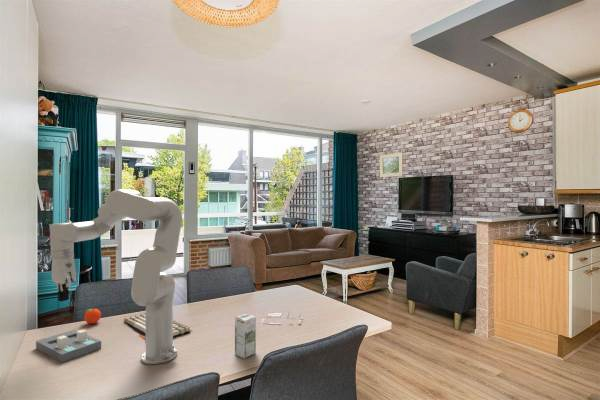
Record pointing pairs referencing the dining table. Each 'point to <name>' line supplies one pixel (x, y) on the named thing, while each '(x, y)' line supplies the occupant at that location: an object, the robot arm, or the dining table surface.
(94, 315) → the clementine
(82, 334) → the tab
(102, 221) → the robot arm
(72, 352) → the switch panel
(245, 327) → the syrup box
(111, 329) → the dining table surface
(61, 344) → the tab
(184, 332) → the mechanical keyboard
